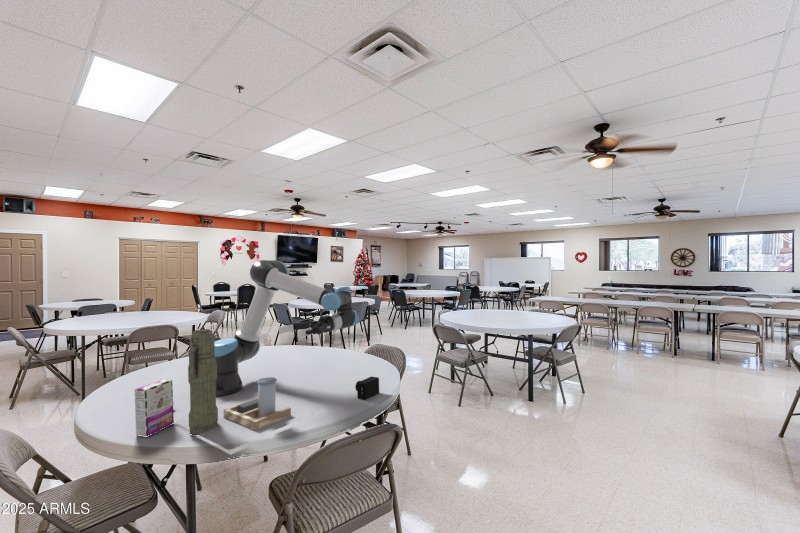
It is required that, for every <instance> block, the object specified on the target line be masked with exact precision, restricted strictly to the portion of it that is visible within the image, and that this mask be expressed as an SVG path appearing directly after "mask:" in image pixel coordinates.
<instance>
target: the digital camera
mask: <svg viewBox="0 0 800 533" xmlns="http://www.w3.org/2000/svg"><path fill="white" fill-rule="evenodd" d="M354 386H355V391H356V392H357V399H358V400H361V399H362V400H363V401H367V400H369V399H370V397H371V398H373V397H374V396H376V395H378V394H380V377H378V376H373V375H371V376H369V377H367V378H365V379H363V380H358V381H356V384H355V385H354ZM377 393H378V394H377ZM372 396H373V397H372ZM368 398H369V399H368ZM366 399H367V400H366Z"/></svg>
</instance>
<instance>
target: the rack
mask: <svg viewBox="0 0 800 533" xmlns="http://www.w3.org/2000/svg"><path fill="white" fill-rule="evenodd" d="M257 398H258V397H256V398H253V399H251V400H248V401H245V402H242V403H239V404H236V405H234V406H233V405H232V406H230V407H227V408H224V409H223V418H225V419H226V420H229V421H231V422H234V423H236V424H239V425H241V426H244V427H246V428H248V429H251V430H253V431H259V430H260V429H263V428H265V427H267V426H270V425H272V424H275V423H277V422H280V421H281V420H284V419H287V418H290V417H291V416H292V409H291V407H285V408H283V409H280V410H278V411H277V410H275V413H272V414H270V415H267V416H265V417H262V418H260V419H257V417H258V408H256V409H253V410H250V411H248V412H245V413H242V414H241V413H238V405H240V404H243V403H246V402H249V401H252V400H254V399H257Z"/></svg>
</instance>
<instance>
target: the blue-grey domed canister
mask: <svg viewBox="0 0 800 533" xmlns="http://www.w3.org/2000/svg"><path fill="white" fill-rule="evenodd" d="M277 381H278V380H277V378H276V377H272V376H269V377H268V376H267V377H262V378H258V379H257V380H256V384H257V398H258V417H257V419H260V418H262V417H265V416H267V415H270V414H272V413H275V411H276V382H277Z"/></svg>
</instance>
